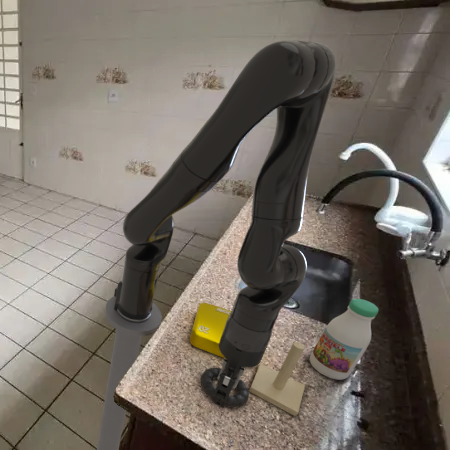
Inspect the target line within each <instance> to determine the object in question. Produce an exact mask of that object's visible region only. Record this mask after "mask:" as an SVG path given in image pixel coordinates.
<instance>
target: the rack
mask: <svg viewBox="0 0 450 450" xmlns="http://www.w3.org/2000/svg"><path fill="white" fill-rule="evenodd" d="M305 349H306V347H305V345H304V344H303V343H301V342H299V341H294V342H293V343H292V345H291V347H290V349H289V351H288V353H287V355H286V356H285V359H284V361H283V362H282V365H281V367H280V369H279V371H277V370H275V369H273V368H271V367H269V366H267V365H265V364H263V363H259V364H258V367H257V370H256V373H255V375H254V377H253V380H252V383H251V385H250V388H249V389H248V392H249V393H252V394H253V395H255V396H257V397H259V398H261V399H262V400H264V401H266V402H268V403H269V404H271V405H273V406H275V407H277V408H279V409H280V410H282V411H284V412H287V413H288V414H290V415H292V416H293V417H297V416H298V414H299V412H300V407H301V404H302V399H303V396H304V391H305V387H306V385H305V384H303V383H301V382H300V381H297V380H296V379H293V378H292V377H291V375H292V373H293V372H294V370H295V368H296V366H297V364H298V362H299V360H300V358H301V356H302V354H303V353H304V351H305Z"/></svg>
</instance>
